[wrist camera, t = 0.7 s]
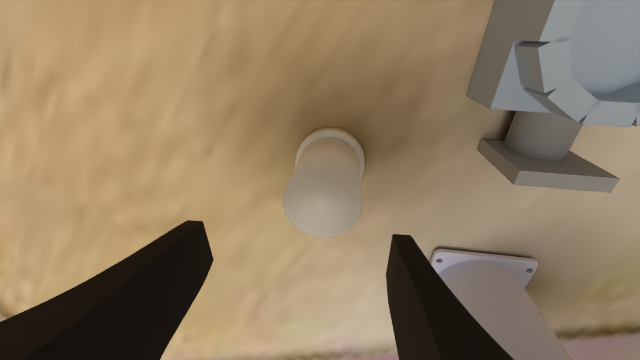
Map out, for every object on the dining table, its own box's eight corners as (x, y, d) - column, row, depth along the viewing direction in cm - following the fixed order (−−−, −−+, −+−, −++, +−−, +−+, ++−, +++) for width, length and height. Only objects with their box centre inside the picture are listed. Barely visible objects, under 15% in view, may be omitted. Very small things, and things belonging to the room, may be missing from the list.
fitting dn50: (360, 190, 20) (362, 245, 15) (297, 185, 21) (278, 236, 15) (368, 130, 18) (373, 170, 13) (297, 125, 18) (275, 161, 13)
